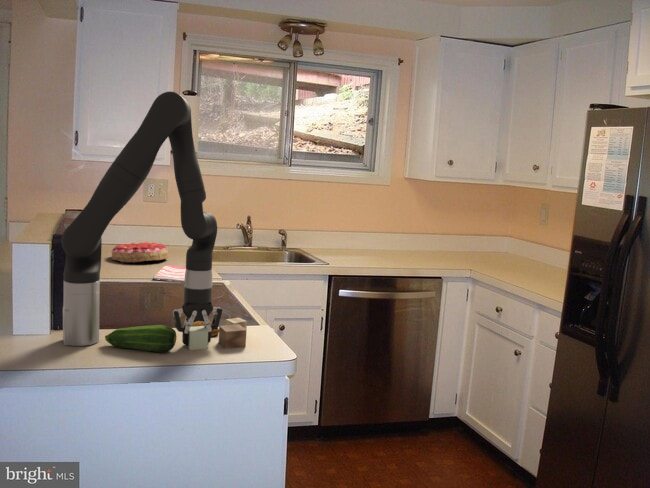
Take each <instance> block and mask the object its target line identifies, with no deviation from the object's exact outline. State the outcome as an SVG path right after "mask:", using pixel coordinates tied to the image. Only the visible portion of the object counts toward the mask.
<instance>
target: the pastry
mask: <svg viewBox="0 0 650 488" xmlns="http://www.w3.org/2000/svg"><path fill="white" fill-rule="evenodd" d="M209 322H210V325H211V324H212V321H210V320H209ZM194 326H204V323H203V321H196V322H193V324H192V326H191V327H194ZM204 327H205V326H204ZM216 335H219V327H218V328H217V329H214V330H212V331H211V337H214V336H216Z"/></svg>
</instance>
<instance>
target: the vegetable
mask: <svg viewBox="0 0 650 488" xmlns="http://www.w3.org/2000/svg"><path fill="white" fill-rule="evenodd" d="M177 337H178V335H177V332H176V330H175V329H174V328H173V327H170V326H167V325H164V324H154V325H141V326H131V327H121V328H116V329H115V330H113V331H112V332H110V333H107V334H106V335H105V336H104V339H105V341H106V342H107V343H108V344H110V345H111V346H113V347H112V348H116V349H131V350H132V349H133V350H139V351H147V352H153V353H166V352H170V351H171V350H172V349H174V348H175V345H176V341H177V340H178V338H177Z"/></svg>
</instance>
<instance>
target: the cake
mask: <svg viewBox="0 0 650 488" xmlns="http://www.w3.org/2000/svg"><path fill="white" fill-rule="evenodd" d="M168 258H169V251H168V248H167V246H166V244H164V243H163V244H162V243H157V242H149V241H146V242H139V243H135V242H134V243H129V244H127V243H125V244H118V245H115V246H114V247H113V248H112V250H111V259H112V260H113V261H119V262H120V263H122V264H139V263H141V262H145V261H146V262H156V261H163V260H166V259H168Z"/></svg>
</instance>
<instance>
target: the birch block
mask: <svg viewBox="0 0 650 488" xmlns="http://www.w3.org/2000/svg"><path fill="white" fill-rule="evenodd" d="M238 324H239V325H241V326H242V327H243V328H244V329H246V332H247V327H248V320H245V319H243V318H241V317H233V318H227V319H225V325H238Z"/></svg>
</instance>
